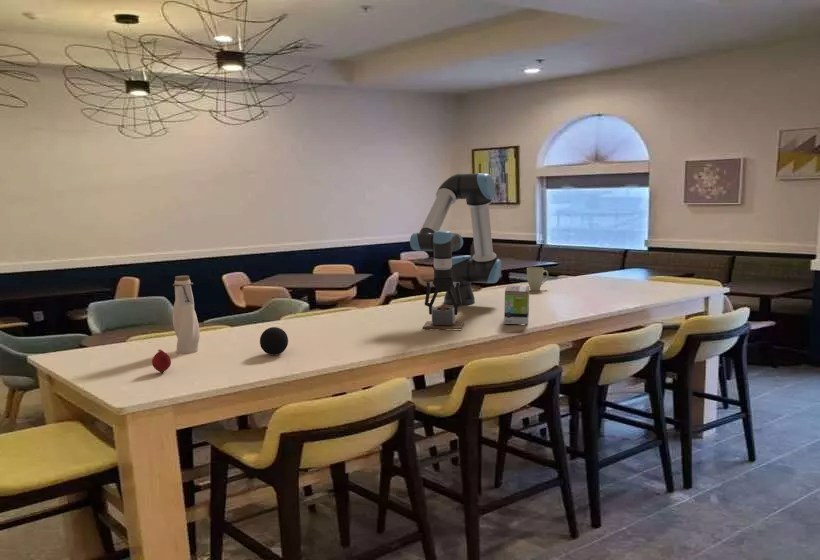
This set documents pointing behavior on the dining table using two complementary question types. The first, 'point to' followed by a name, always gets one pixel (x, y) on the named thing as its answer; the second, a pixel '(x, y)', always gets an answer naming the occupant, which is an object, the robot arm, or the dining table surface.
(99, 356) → the dining table surface
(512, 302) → the tea box
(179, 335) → the water bottle
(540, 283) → the mug
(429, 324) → the keeper
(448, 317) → the grey square hollow block
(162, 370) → the onion
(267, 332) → the speaker
